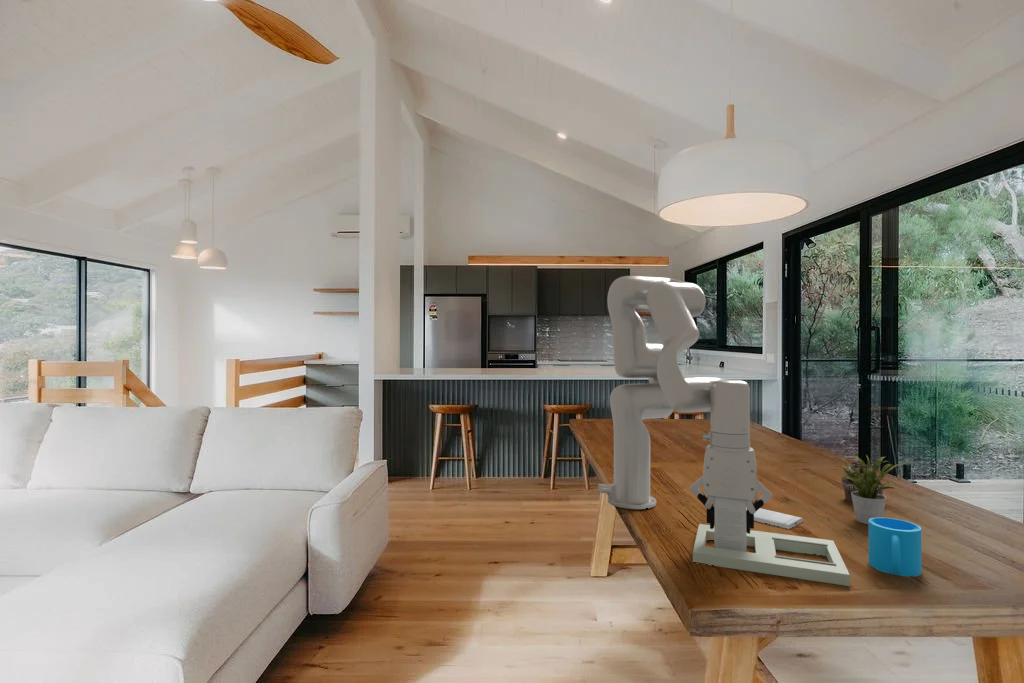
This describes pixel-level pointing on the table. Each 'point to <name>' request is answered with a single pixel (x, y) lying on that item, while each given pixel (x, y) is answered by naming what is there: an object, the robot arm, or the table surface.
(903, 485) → the table surface
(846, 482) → the cupcake
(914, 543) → the mug
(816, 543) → the socket board
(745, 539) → the skincare box
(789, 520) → the hard drive
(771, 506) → the table surface
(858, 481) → the house plant
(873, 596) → the table surface
